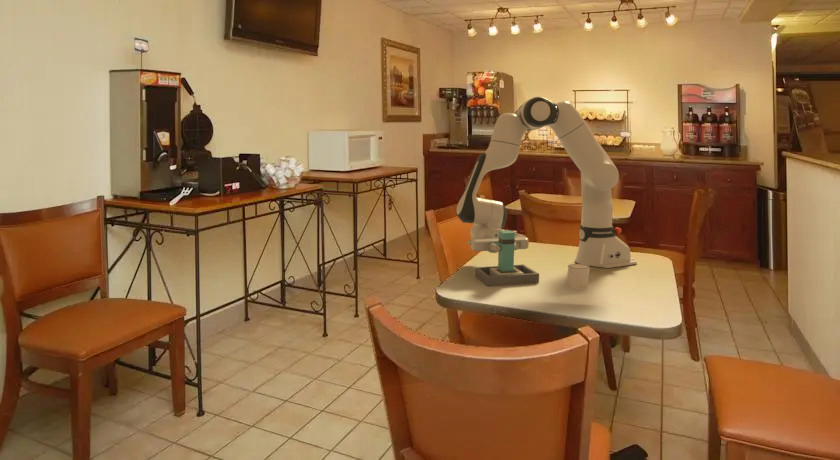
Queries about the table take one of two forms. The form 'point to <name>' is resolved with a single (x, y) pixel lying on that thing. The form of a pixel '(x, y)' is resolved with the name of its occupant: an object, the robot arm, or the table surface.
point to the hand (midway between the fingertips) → (507, 248)
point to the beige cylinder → (578, 276)
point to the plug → (506, 250)
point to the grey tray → (506, 275)
